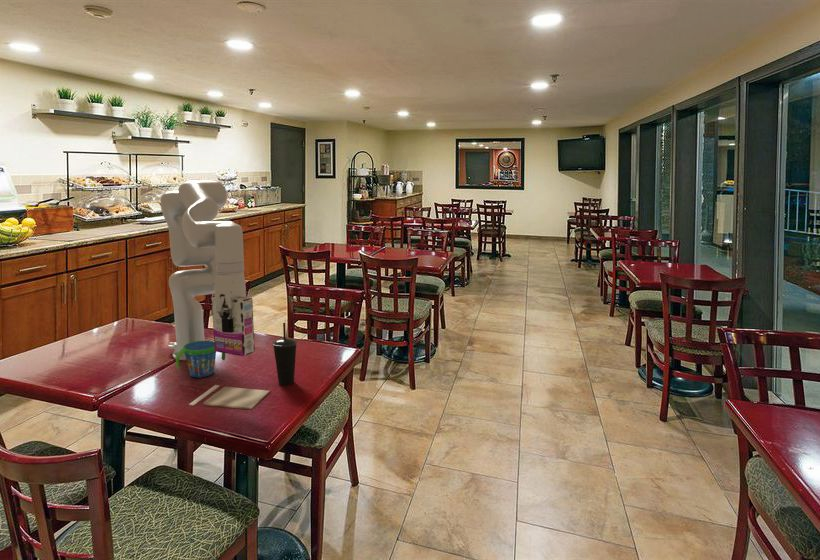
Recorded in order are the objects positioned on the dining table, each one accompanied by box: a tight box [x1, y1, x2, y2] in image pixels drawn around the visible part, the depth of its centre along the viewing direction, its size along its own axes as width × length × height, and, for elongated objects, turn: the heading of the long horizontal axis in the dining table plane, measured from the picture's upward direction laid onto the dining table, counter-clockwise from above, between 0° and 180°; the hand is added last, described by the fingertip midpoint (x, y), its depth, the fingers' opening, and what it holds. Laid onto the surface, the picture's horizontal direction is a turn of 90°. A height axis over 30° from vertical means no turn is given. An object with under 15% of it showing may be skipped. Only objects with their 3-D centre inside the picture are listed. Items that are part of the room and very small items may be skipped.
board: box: [202, 386, 271, 410], centre depth 151 cm, size 15×12×1 cm
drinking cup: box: [272, 322, 298, 387], centre depth 161 cm, size 8×8×20 cm
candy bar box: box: [210, 296, 256, 357], centre depth 146 cm, size 11×5×16 cm, turn 68°
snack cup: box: [175, 340, 227, 379], centre depth 168 cm, size 16×10×10 cm
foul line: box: [188, 384, 220, 406], centre depth 152 cm, size 2×14×1 cm, turn 171°
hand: (233, 328), depth 147 cm, fingers closed on candy bar box, 5 cm apart
